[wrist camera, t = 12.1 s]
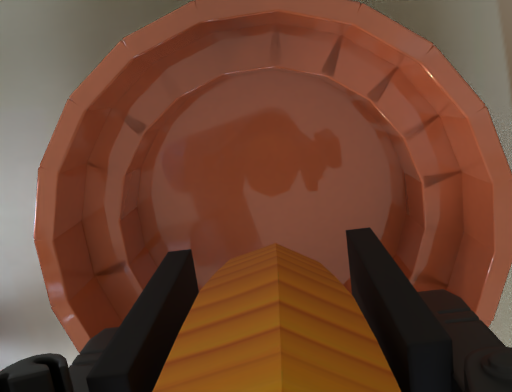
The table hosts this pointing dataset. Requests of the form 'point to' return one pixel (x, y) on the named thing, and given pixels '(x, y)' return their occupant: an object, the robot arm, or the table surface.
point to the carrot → (275, 332)
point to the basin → (269, 157)
